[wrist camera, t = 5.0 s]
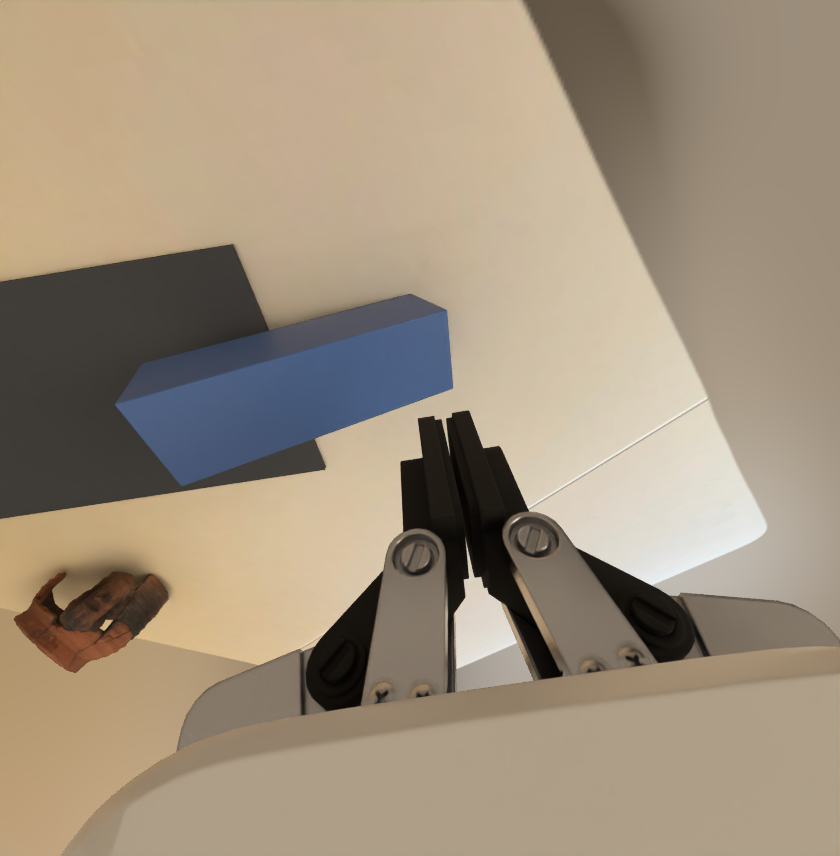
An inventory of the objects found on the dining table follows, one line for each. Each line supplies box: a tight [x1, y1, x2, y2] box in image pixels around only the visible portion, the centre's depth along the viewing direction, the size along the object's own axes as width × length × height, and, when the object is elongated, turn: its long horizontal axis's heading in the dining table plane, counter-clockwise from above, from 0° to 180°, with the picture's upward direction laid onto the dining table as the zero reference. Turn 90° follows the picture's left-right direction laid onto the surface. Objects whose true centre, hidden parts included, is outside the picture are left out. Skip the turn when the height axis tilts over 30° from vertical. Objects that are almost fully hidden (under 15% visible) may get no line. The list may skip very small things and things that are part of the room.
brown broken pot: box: [14, 572, 168, 673], centre depth 31 cm, size 12×10×8 cm
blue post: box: [115, 294, 453, 486], centre depth 17 cm, size 4×4×14 cm
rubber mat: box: [0, 244, 326, 519], centre depth 22 cm, size 16×30×1 cm, turn 98°
